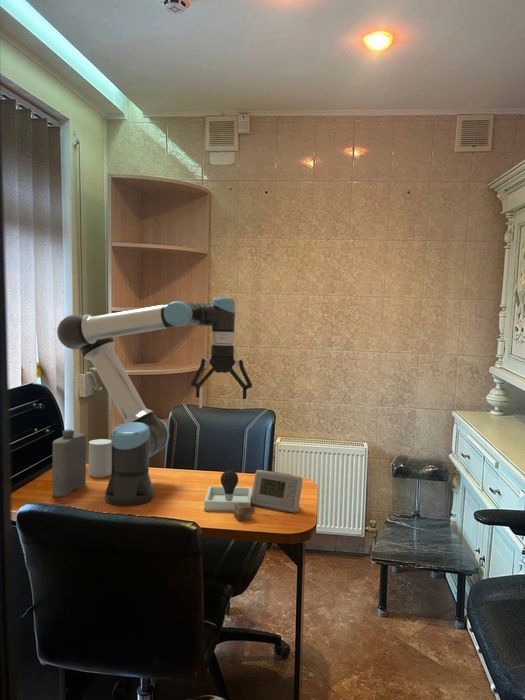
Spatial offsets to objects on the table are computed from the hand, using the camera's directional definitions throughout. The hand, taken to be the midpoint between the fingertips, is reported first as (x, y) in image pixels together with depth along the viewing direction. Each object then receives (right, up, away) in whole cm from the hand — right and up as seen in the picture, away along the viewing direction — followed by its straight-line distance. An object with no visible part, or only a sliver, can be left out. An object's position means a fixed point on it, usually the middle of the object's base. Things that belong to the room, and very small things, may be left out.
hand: (221, 408), depth 174 cm
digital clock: (+18, -30, -10) cm, 37 cm away
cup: (-46, -26, +18) cm, 56 cm away
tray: (+3, -29, -8) cm, 31 cm away
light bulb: (+3, -29, -8) cm, 30 cm away
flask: (-51, -27, 0) cm, 58 cm away
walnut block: (+8, -30, -20) cm, 37 cm away
